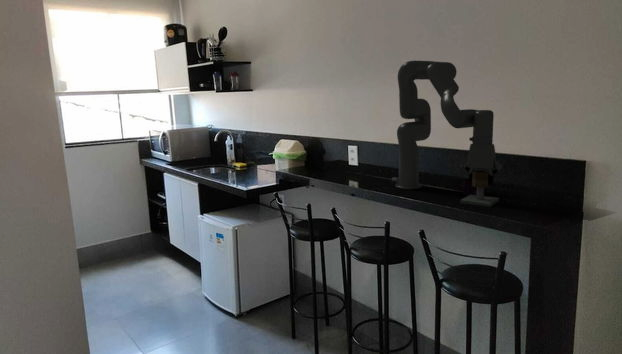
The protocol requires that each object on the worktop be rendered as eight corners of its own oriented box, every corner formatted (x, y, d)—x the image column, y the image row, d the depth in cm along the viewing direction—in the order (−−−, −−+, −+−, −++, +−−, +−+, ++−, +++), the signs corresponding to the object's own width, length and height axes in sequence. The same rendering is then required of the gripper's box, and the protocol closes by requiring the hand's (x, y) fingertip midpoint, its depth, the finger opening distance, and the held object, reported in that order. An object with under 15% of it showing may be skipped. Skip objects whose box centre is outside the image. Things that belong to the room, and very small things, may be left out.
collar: (470, 186, 182) (470, 172, 181) (475, 183, 187) (476, 169, 186) (486, 187, 178) (487, 173, 177) (491, 185, 183) (492, 170, 182)
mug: (472, 197, 192) (473, 182, 190) (454, 193, 200) (455, 178, 199) (482, 195, 195) (483, 180, 194) (464, 191, 203) (465, 176, 202)
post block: (460, 202, 183) (461, 183, 181) (470, 197, 192) (471, 178, 191) (490, 206, 176) (491, 186, 174) (499, 200, 185) (500, 181, 183)
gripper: (458, 140, 181) (457, 183, 185) (502, 142, 171) (500, 187, 174) (464, 139, 187) (463, 180, 190) (507, 140, 176) (505, 184, 180)
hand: (481, 183), depth 182 cm, fingers closed on collar, 6 cm apart
